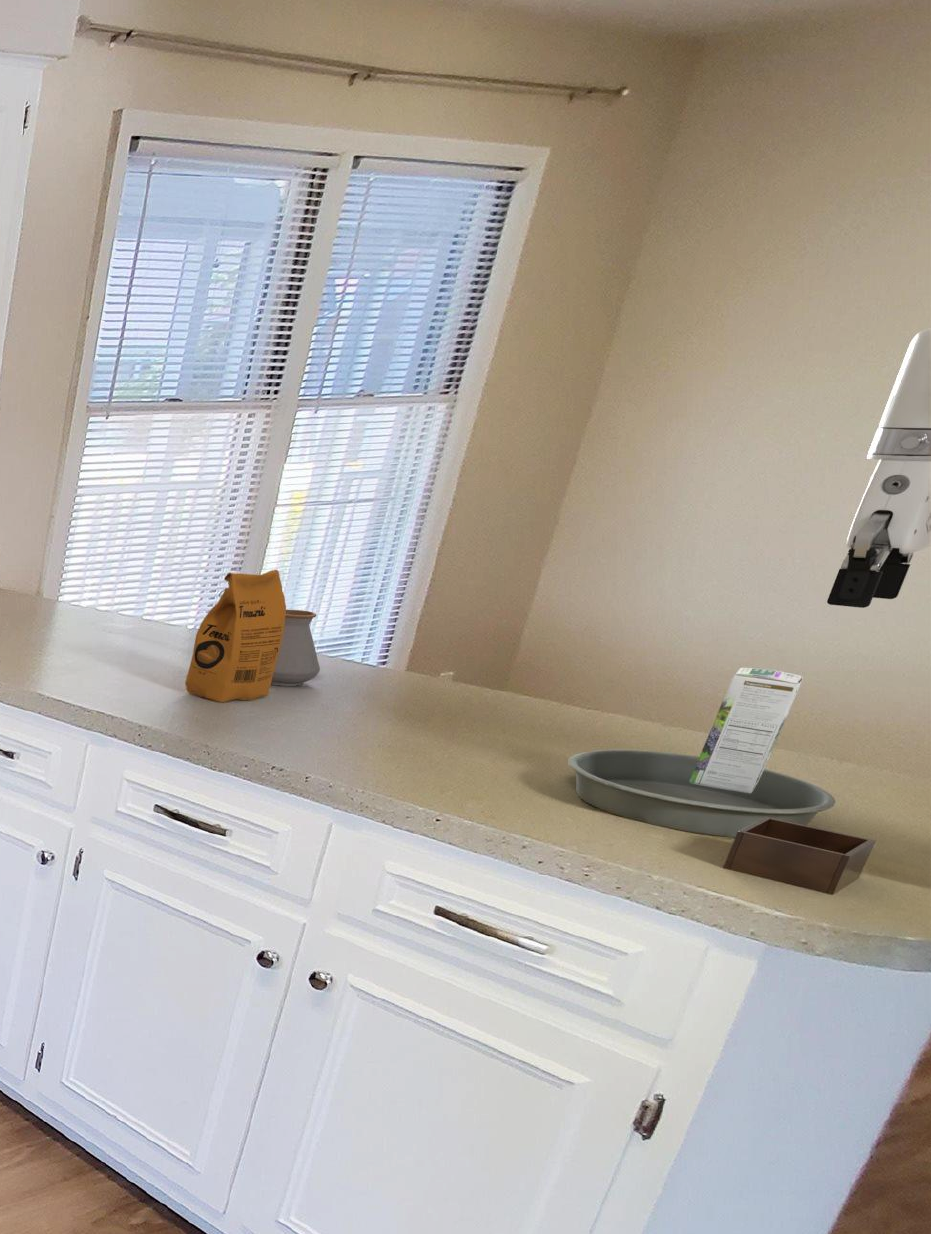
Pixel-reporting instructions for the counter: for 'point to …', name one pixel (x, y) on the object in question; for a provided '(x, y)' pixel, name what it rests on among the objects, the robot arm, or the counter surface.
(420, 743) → the counter surface
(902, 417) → the robot arm
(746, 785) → the syrup box
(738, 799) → the cake pan
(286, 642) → the coffee pot
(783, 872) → the caddy
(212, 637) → the coffee package
